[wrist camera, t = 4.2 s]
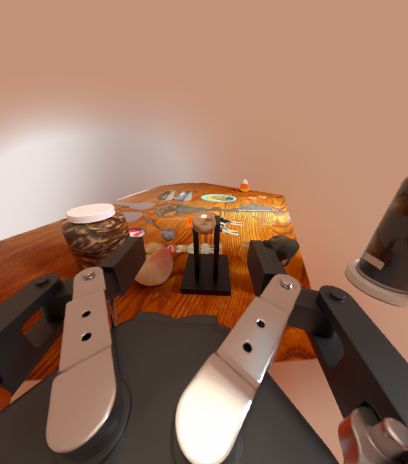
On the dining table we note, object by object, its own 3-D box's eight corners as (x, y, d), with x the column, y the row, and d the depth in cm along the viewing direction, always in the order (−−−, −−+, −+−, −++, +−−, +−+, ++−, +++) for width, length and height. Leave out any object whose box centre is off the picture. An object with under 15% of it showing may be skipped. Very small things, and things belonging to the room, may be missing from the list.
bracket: (230, 296, 32) (236, 234, 26) (180, 293, 33) (174, 233, 26) (226, 259, 43) (230, 209, 36) (189, 257, 43) (186, 208, 37)
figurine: (273, 305, 30) (288, 251, 25) (249, 286, 34) (258, 237, 29) (291, 289, 33) (308, 239, 28) (267, 274, 37) (278, 228, 32)
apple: (162, 261, 42) (157, 234, 38) (182, 279, 36) (179, 249, 33) (128, 277, 37) (119, 248, 33) (145, 301, 31) (137, 269, 27)
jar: (127, 248, 48) (113, 198, 41) (143, 267, 40) (130, 209, 33) (79, 265, 41) (52, 208, 34) (87, 292, 33) (55, 226, 26)
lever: (215, 234, 20) (216, 209, 21) (190, 233, 21) (191, 208, 21) (214, 236, 33) (215, 220, 34) (199, 235, 34) (199, 220, 34)
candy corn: (239, 191, 108) (240, 179, 104) (239, 190, 111) (240, 178, 107) (248, 192, 107) (250, 179, 103) (248, 191, 109) (250, 178, 106)
